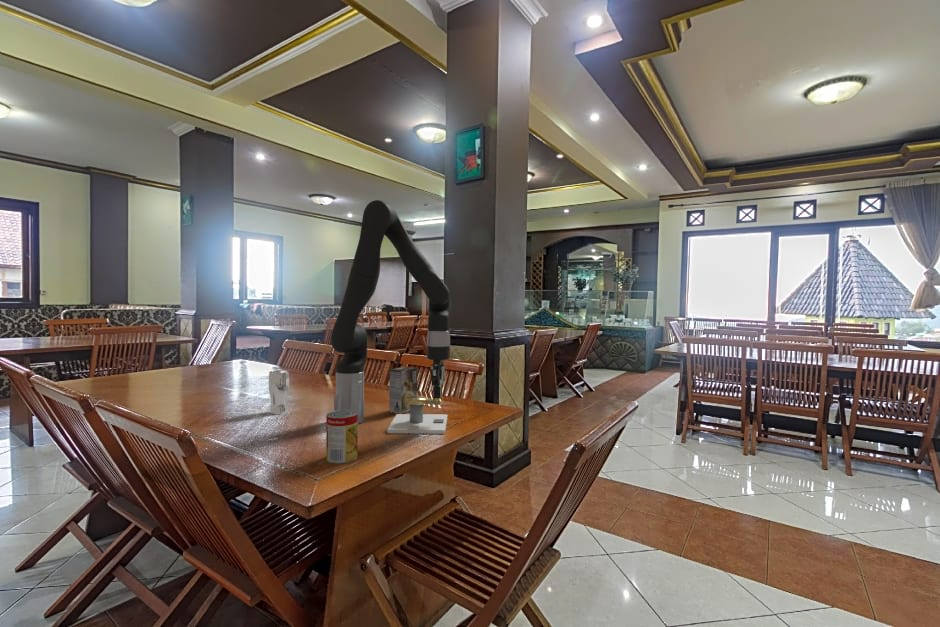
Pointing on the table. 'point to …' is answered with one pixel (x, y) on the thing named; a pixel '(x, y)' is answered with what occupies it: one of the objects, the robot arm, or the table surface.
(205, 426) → the table surface
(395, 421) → the base
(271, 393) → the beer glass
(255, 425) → the table surface
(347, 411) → the canned food
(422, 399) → the coupling
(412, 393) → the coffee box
